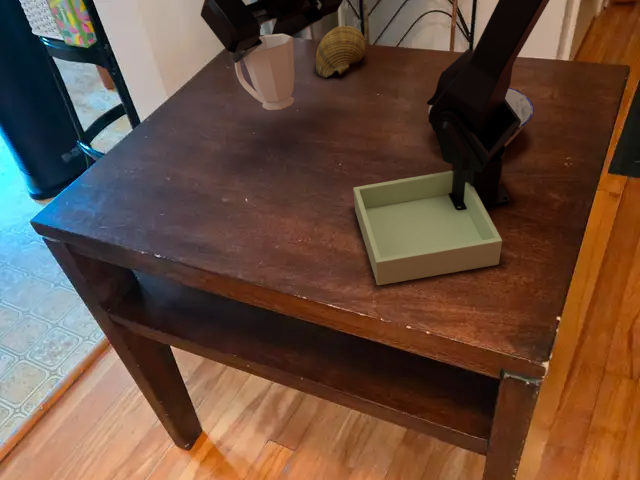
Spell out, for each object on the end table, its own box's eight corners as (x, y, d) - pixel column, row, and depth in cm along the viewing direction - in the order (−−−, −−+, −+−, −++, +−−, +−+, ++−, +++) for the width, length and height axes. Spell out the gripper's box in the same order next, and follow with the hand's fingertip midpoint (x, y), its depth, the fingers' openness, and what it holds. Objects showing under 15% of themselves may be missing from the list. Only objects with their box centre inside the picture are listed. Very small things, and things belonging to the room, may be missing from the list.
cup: (281, 116, 77) (268, 52, 72) (227, 109, 83) (211, 48, 78) (314, 96, 81) (304, 34, 76) (260, 90, 87) (247, 31, 82)
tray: (498, 264, 64) (502, 240, 61) (377, 285, 64) (376, 262, 61) (461, 191, 73) (463, 168, 70) (355, 210, 73) (353, 187, 70)
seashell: (340, 100, 99) (368, 68, 92) (304, 78, 96) (330, 42, 90) (348, 62, 103) (375, 29, 97) (313, 40, 101) (339, 4, 95)
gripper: (312, -118, 70) (268, -16, 84) (186, -88, 61) (159, 22, 74) (370, -42, 70) (316, 48, 84) (253, 0, 61) (213, 94, 74)
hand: (254, 51), depth 79 cm, fingers closed on cup, 6 cm apart
